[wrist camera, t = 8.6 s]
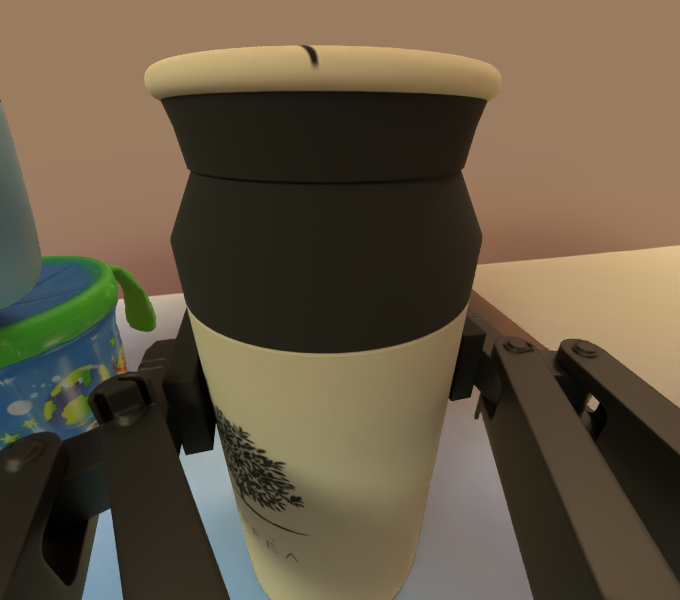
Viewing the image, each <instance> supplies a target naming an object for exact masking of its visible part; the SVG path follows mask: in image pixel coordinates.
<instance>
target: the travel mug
mask: <svg viewBox="0 0 680 600" xmlns="http://www.w3.org/2000/svg"><path fill="white" fill-rule="evenodd" d="M144 79H145V85H146V88H147V90H148V91H149V93H150V94H151V95H152V96H153V97H154V98H156V99H158V100H160V101H161V102H162V104H163V106H164V108H165V111H166V113H167V115H168V117H169V119H170V121H171V123H172V125H173V128H174V131H175V134H176V136H177V139H178V142H179V145H180V148H181V151H182V154H183V157H184V160H185V163H186V165H187V169H189V170H190V171H191V172H190V175H189V179H188V182H187V185H186V188H185V192H184V195H183V198H182V202H181V205H180V208H179V211H178V215H177V218H176V221H175V224H174V228H173V231H172V235H171V246H172V250H173V254H174V258H175V262H176V266H177V269H178V274H179V278H180V282H181V285H182V289H183V293H184V297H185V301H186V305H187V309H188V313H189V317H190V321H191V325H192V329H193V333H194V337H195V341H196V345H197V349H198V353H199V357H200V361H201V365H202V369H203V373H204V376H205V380H206V384H207V388H208V392H209V396H210V400H211V404H212V408H213V412H214V416H215V420H216V424H217V428H218V432H219V436H220V440H221V444H222V448H223V452H224V456H225V460H226V463H227V467H228V471H229V475H230V479H231V483H232V487H233V491H234V495H235V499H236V503H237V507H238V511H239V515H240V519H241V523H242V527H243V531H244V535H245V539H246V543H247V547H248V550H249V554H250V558H251V562H252V566H253V569H254V572H255V574H256V577H257V579H258V581H259V583H260V584H261V586H262V588H263V589H264V591H265V592H266V594H267V595H268V596H269V597H270V599H271V600H392V599H393V598H394V597H395V595H396V594H397V593H398V592H399V590H400V589H401V587H402V586H403V584H404V582H405V581H406V579H407V576H408V574H409V572H410V570H411V567H412V564H413V560H414V557H415V552H416V548H417V543H418V538H419V534H420V529H421V524H422V520H423V515H424V510H425V506H426V501H427V496H428V491H429V487H430V482H431V477H432V473H433V468H434V463H435V459H436V454H437V449H438V445H439V440H440V435H441V430H442V426H443V421H444V416H445V412H446V407H447V402H448V398H449V393H450V388H451V384H452V379H453V374H454V370H455V365H456V360H457V355H458V351H459V346H460V341H461V337H462V332H463V327H464V323H465V318H466V313H467V309H468V304H469V299H470V295H471V290H472V285H473V280H474V276H475V271H476V266H477V261H478V257H479V252H480V248H481V242H482V233H481V230H480V227H479V224H478V221H477V217H476V215H475V211H474V208H473V205H472V202H471V199H470V196H469V193H468V190H467V187H466V184H465V181H464V178H463V175H462V172H461V169H463V168H464V166H465V163H466V160H467V156H468V153H469V150H470V147H471V143H472V140H473V136H474V133H475V130H476V127H477V124H478V122H479V120H480V117H481V115H482V113H483V110H484V108H485V106H486V104H487V102H488V101H490V100H492V99H493V98H494V97H495V96H496V95H497V94H498V93H499V91H500V89H501V85H502V78H501V74H500V72H499V71H498V70H497V69H496V68H495V67H494V66H492V65H490V64H488V63H485V62H482V61H479V60H476V59H472V58H468V57H463V56H458V55H452V54H446V53H439V52H431V51H422V50H411V49H399V48H383V47H363V46H324V45H320V46H318V45H315V46H314V45H312V46H265V47H246V48H233V49H221V50H211V51H203V52H196V53H190V54H184V55H179V56H174V57H171V58H167V59H164V60H161V61H158V62H156V63H154V64H153V65H151V66H150V67H149V68H148V69H147V71H146V73H145V77H144Z"/></svg>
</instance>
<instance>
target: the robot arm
mask: <svg viewBox="0 0 680 600" xmlns="http://www.w3.org/2000/svg"><path fill="white" fill-rule="evenodd" d="M41 267H42V259H41V251H40V246H39V241H38V237H37V231H36V227H35V222H34V217H33V213H32V209H31V205H30V202H29V197H28V193H27V189H26V186H25V182H24V178H23V174H22V171H21V167H20V164H19V160H18V156H17V153H16V149H15V145H14V142H13V139H12V136H11V132H10V129H9V125H8V122H7V119H6V116H5V112H4V109H3V106H2V103H1V101H0V309H4V308H6V307H8V306H10V305H12V304H13V303H15V302H17V301H19V300H20V299H21V298H22V297H23V296H24V295H26V294H27V293H29V292H30V291H31V290H32V289H33V288H34V287H35V285H36V283H37V281H38V279H39V278H40V274H41ZM141 362H142V363H140V365H139V368H138V372H126V373H122V374H118V375H115V376H113V377H111V378H109V379H107V380H105V381H103V382H102V383H100V384H99V385H98V386H96V387H95V388H94V389H93V391H92V392H91V393H90V394H89V397H88V400H87V403H88V405H89V407H90V409H91V411H92V413H93V415H94V417H95V419H96V421H97V423H98V424H99V426H98V427H96V428H93V429H91V430H89V431H87V432H84V433H81V434H79V435H76V436H74V437H71V438H68V439H66V440H63V441H62V440H61V439H60V437H59V436H58V435H57V434H56V433H54V432H48V431H44V432H37V433H33V434H30V435H27V436H25V437H22V438H19V439H18V440H16V441H14V442H12V443H11V444H9V445H7V446H5V447H4V448H3V449H2V450H0V600H82V595H83V591H84V586H85V581H86V576H87V571H88V566H89V561H90V556H91V551H92V546H93V542H94V537H95V532H96V527H97V522H98V517H99V514H100V513H102V512H104V511H106V510H108V509H110V508H111V513H112V520H113V528H114V535H115V542H116V550H117V557H118V564H119V571H120V579H121V586H122V593H123V600H230V597H229V595H228V592H227V589H226V586H225V583H224V581H223V578H222V575H221V572H220V570H219V567H218V564H217V561H216V559H215V556H214V553H213V550H212V547H211V545H210V542H209V539H208V536H207V534H206V531H205V528H204V525H203V523H202V520H201V517H200V514H199V512H198V509H197V506H196V503H195V500H194V498H193V495H192V492H191V489H190V487H189V484H188V481H187V478H186V476H185V473H184V470H183V467H182V465H181V462H180V459H179V454H180V449H181V445H182V446H183V449H184V451H185V454H186V455H190V454H194V453H199V452H204V451H209V450H213V446H214V436H215V427H216V420H215V416H214V412H213V408H212V404H211V400H210V396H209V392H208V388H207V384H206V380H205V376H204V373H203V369H202V365H201V361H200V357H199V353H198V349H197V345H196V341H195V337H194V333H193V329H192V325H191V321H190V317H189V313H188V309H187V308H186V311H185V314H184V317H183V320H182V323H181V326H180V329H179V332H178V335H177V338H176V339H168V340H161V341H156V342H155V343H154V344H153V345H152V346H151V347H150V348H148V349H147V350H146V352H145V354H144V356H143V359H142V361H141ZM473 385H475V386H476V387H477V388H478V389H479V391H480V396H479V400H478V404H477V407H476V411H475V419H478V417H479V414H480V412H481V413H482V416H483V420H484V423H485V427H486V431H487V434H488V438H489V441H490V445H491V448H492V452H493V456H494V459H495V463H496V466H497V470H498V473H499V477H500V481H501V484H502V488H503V491H504V495H505V498H506V502H507V506H508V509H509V513H510V516H511V520H512V523H513V527H514V531H515V534H516V538H517V541H518V545H519V548H520V552H521V556H522V559H523V563H524V566H525V570H526V573H527V577H528V581H529V584H530V588H531V591H532V595H533V598H534V600H680V408H678V407H677V406H676V405H675V404H673V403H672V402H671V401H669V400H668V399H667V398H666V397H664V396H663V395H662V394H660V393H659V392H658V391H656V390H655V389H654V388H653V387H651V386H650V385H649V384H647V383H646V382H645V381H644V380H642V379H641V378H640V377H638V376H637V375H636V374H635V373H633V372H632V371H631V370H629V369H628V368H627V367H626V366H624V365H623V364H622V363H620V362H619V361H618V360H616V359H615V358H614V357H613V356H611V355H610V354H609V353H607V352H606V351H605V350H604V349H602V348H600V347H599V346H597V345H595V344H592V343H590V342H589V341H585V340H584V341H583V340H581V339H566V340H563V341H562V342H561V344H560V346H559V349H558V351H547V350H538V349H537V348H536V347H535V346H534V345H533V344H532V343H530V342H529V341H527V340H525V339H522V338H519V337H515V336H503V335H502V334H501V333H500V332H498V331H497V330H496V329H495V328H494V327H492V326H491V325H490V324H489V323H488V322H486V321H485V320H484V319H483V320H482V317H480V316H479V315H478V314H476V312H474V311H473V310H472V309H471V308H470V307H468V309H467V313H466V318H465V323H464V327H463V332H462V337H461V341H460V346H459V351H458V355H457V360H456V365H455V370H454V374H453V379H452V384H451V388H450V393H449V399H450V400H451V401H455V400H460V399H465V398H470V397H471V393H472V389H473ZM592 395H593V396H594V397H595V398H596V399H597V400H598V401H599V402H600V403H599V405H598V407H597V409H596V410H595V411H593V410H592V409H590V408H589V407H588V405H587V404H588V402H589V400H590V398H591V396H592Z"/></svg>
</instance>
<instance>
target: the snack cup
mask: <svg viewBox="0 0 680 600" xmlns="http://www.w3.org/2000/svg"><path fill="white" fill-rule="evenodd" d="M41 259H42V267H41V274H40V278H39V279H38V281H37V283H36V285H35V287H34V288H33V289H32V290H31V291H30V292H29V293H27V294H26V295H24V296H23V297H22V298H21V299H20V300H19V301H17V302H15V303H13V304H12V305H10V306H8V307H6V308H4V309H0V450H2V449H3V448H4V447H5V446H7V445H9V444H11V443H12V442H14V441H16V440H18V439H19V438H22V437H25V436H27V435H30V434H33V433H37V432H44V431H48V432H54V433H56V434H57V435H58V436H59V437H60V439H61V440H62V441H63V440H66V439H68V438H71V437H74V436H76V435H79V434H81V433H84V432H87V431H89V430H91V429H93V428H96V427H98V426H99V424H98V423H97V421H96V419H95V417H94V415H93V413H92V411H91V409H90V407H89V405H88V403H87V400H88V397H89V394H90V393H91V392H92V391H93V389H94V388H95V387H96V386H98V385H99V384H100V383H102V382H103V381H105V380H107V379H109V378H111V377H113V376H115V375H118V374H122V373H126V372H127V368H126V362H125V357H124V351H123V345H122V341H121V338H120V334H119V329H118V327H117V324H116V318H115V309H116V305H117V302H118V286H117V282H116V280H117V281H118V283H119V284H120V285H121V288H122V290H123V293H124V302H125V313H126V319H127V322H128V323H129V325H130V326H131V327H132V328H134V329H136V330H139V331H144V332H150V331H152V330H153V329H155V327H156V315H155V313H154V309H153V307H152V304H151V302H150V301H149V298H148V296H147V295H146V293H145V291H144V289H143V288H142V286H141V285H140V283H139V282H138V281H137V280H136V278H135V277H134V276H133V275H132V274H131V273H130V272H128V271H127V270H125V269H124V268H123V267H118V266H115V265H109V264H106V263H105V262H102V261H100V260H97V259H93V258H89V257H81V256H41Z"/></svg>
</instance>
